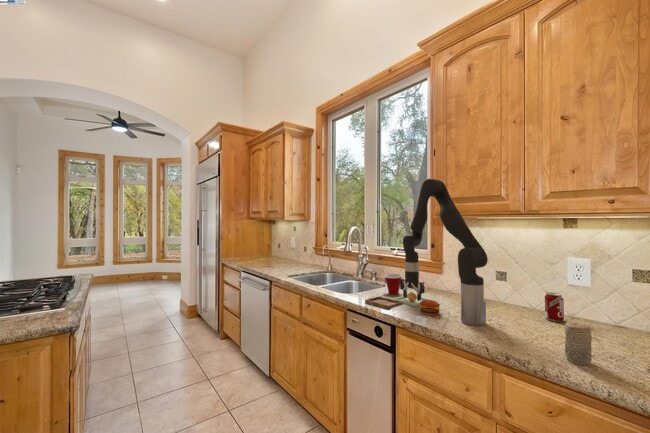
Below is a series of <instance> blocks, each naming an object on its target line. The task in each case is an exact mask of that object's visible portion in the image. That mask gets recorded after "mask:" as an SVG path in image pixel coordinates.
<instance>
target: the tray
mask: <svg viewBox="0 0 650 433" xmlns="http://www.w3.org/2000/svg"><path fill="white" fill-rule="evenodd" d="M364 303H365V304H368V305H371V306H375V307H378V308H382V309H384V310H392V308H394V307H395V308H396V307H398V306H402V305H403V302H401V301H397V300H393V298H387V297H383V296H381V295H380V296H375V297H371V298H367V299H365V302H364Z"/></svg>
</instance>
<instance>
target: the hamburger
mask: <svg viewBox="0 0 650 433" xmlns="http://www.w3.org/2000/svg"><path fill="white" fill-rule="evenodd" d="M419 304H420V306H419V309H420V310H419V312H420V313H421V314H422V315H425V316H430V317H438V316H440V306H441V304H440V303H439V302H438V301H436V300H433V299H432V300H423V301H421V302H420V303H419Z"/></svg>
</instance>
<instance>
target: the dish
mask: <svg viewBox="0 0 650 433" xmlns="http://www.w3.org/2000/svg"><path fill="white" fill-rule="evenodd" d="M407 296H408V294H407ZM392 300H397V301H401V302H403V304H404V305H408V306H412V307H415V308H416V307H420V304H419V303H420V302H421V301H423V300H433V299H431V298H427V297H422V296H421V300H420V301H417V299H416V300H415V301H410V300H409V299H408V297H407V298H404V296H403V295H401V296H397V297H394V298H392ZM403 304H402V305H403Z"/></svg>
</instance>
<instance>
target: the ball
mask: <svg viewBox="0 0 650 433" xmlns="http://www.w3.org/2000/svg"><path fill="white" fill-rule="evenodd" d="M407 295H408V296H407V297H408V299H409V300H410V301H415V300H416V299H417V294H416V293H415V292H412V291H410V292H408V293H407Z"/></svg>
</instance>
